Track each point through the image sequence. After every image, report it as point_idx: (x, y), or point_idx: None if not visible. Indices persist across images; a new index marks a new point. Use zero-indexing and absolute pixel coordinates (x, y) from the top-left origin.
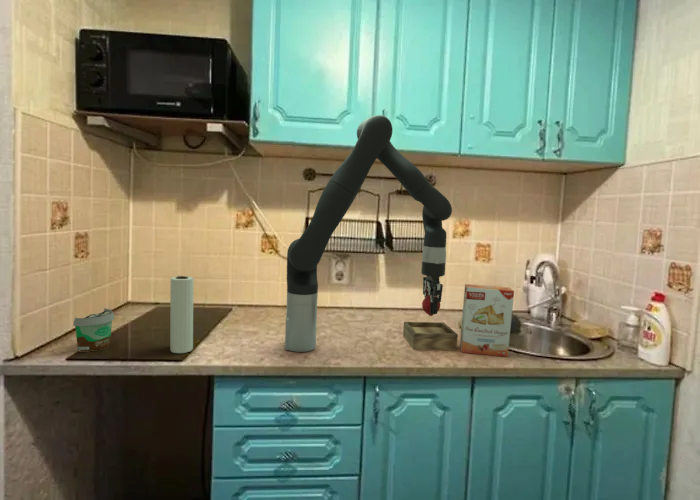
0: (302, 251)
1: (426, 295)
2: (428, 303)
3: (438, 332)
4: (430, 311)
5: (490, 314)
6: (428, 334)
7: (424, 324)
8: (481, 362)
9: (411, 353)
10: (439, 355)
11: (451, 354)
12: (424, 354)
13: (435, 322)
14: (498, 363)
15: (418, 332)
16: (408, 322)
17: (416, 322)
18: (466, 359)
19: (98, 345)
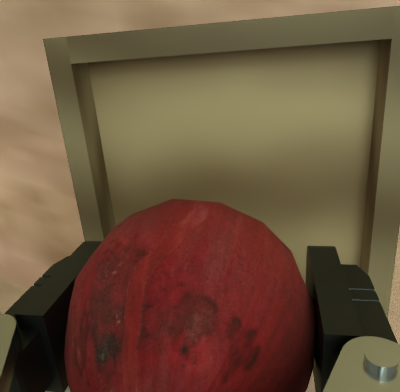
0: None
1: (327, 388)
2: (76, 283)
3: None
4: (82, 249)
5: None
6: (67, 149)
7: (372, 195)
8: (3, 308)
9: (29, 16)
10: (38, 167)
11: (65, 227)
12: (32, 92)
13: (380, 286)
14: None
15: (214, 107)
16: (391, 50)
17: (388, 131)
18: (19, 267)
19: None
